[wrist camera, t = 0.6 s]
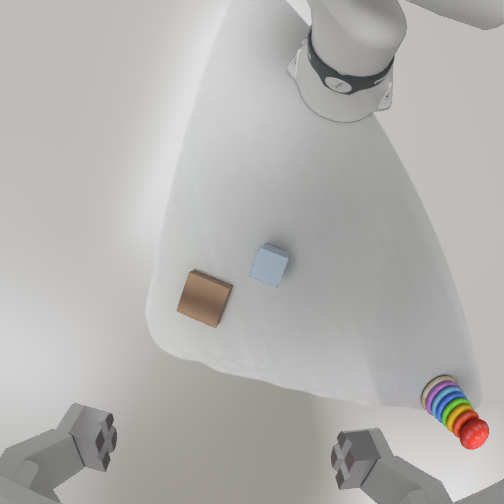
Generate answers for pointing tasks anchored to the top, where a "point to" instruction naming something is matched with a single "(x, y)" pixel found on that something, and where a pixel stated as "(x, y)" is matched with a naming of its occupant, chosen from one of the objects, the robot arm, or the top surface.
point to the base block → (204, 298)
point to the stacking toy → (455, 411)
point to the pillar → (269, 265)
